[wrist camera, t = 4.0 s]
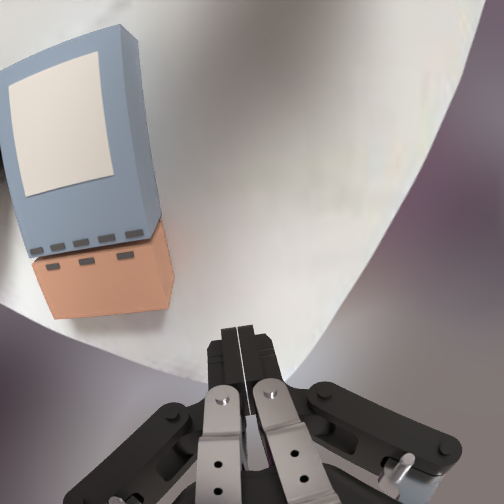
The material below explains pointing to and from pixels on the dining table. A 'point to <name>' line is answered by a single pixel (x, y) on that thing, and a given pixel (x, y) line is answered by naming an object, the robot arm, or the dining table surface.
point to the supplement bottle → (2, 169)
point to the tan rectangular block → (108, 278)
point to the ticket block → (78, 145)
